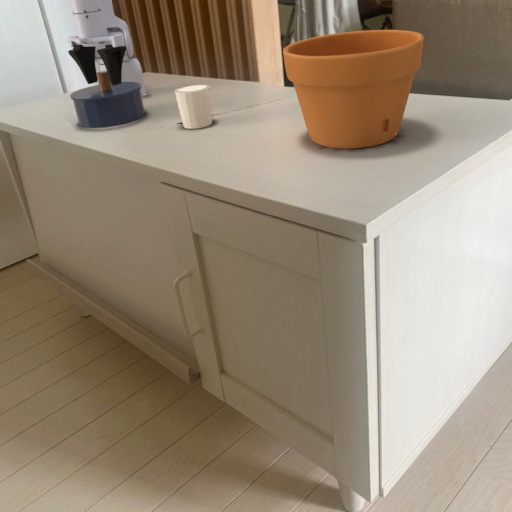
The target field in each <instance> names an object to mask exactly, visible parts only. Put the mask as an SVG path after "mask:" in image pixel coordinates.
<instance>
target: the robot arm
mask: <svg viewBox="0 0 512 512" xmlns="http://www.w3.org/2000/svg"><path fill="white" fill-rule="evenodd" d="M69 5H70V7H71V12H72V16H73V19H74V24H75V28H76V32H77V35H71V36H67V37H66V38H67V42H68V46H69V48H72V49H70V50H68V51H67V53H68V55H69V56H70V57H71V58H72V60H74V62H75V63H76V64H77V66H78V68H79V70H80V71H81V73H82V76H83V77H84V79H85V81H86V83H87V85H91V84H95V83H98V79H97V75H96V73H98V71H97V67H96V64H97V65H99V70H100V72H102V71H107V73H108V77H109V80H110V83H111V85H118V84H121V82H137V83H140V84H141V86H142V88H141V89H140V91H141V96H142V97H143V96H147V95H148V93H147V89H146V88H147V87H146V84H145V79H144V74H143V68H142V66H141V63H140V61H139V60H138V58H137V57H133V55H134V46H133V40H132V36H131V32H130V29H129V25H128V24H127V22H126V21H125V20H123V19H122V18H120V17H118V16H116V15H115V11H114V5H113V1H112V0H69Z"/></svg>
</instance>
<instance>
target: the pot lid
mask: <svg viewBox="0 0 512 512" xmlns="http://www.w3.org/2000/svg"><path fill="white" fill-rule="evenodd" d="M96 75H97V83H98V84H96V85H92V86H87V87H84V88H81V89H78V90H75V91H73V92H72V93H70V95H69V97H70V99H71V100H72V101H73V100H75V101H97V100H105V99H111V98H117V97H121V96H125V95H128V94H132V93H134V92H137V91H138V90H140V89H141V88H142V86H141V84H140V83H137V82H121V84H118V85H111V83H110V80H109V77H108V73H107V71H102V72H101V71H97V73H96Z"/></svg>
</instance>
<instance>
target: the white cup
mask: <svg viewBox="0 0 512 512" xmlns="http://www.w3.org/2000/svg"><path fill="white" fill-rule="evenodd" d="M174 95H175V99H176V102H177V106H178V110H179V115H180V118H181V123H182V125H183V128H185V129H188V130H189V129H190V130H195V129H196V130H197V129H201V128H206V127H209V126H211V125H213V112H212V89H211V85H209V84H190V85H185V86H181V87H178V88H175V90H174Z"/></svg>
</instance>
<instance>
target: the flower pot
mask: <svg viewBox="0 0 512 512" xmlns="http://www.w3.org/2000/svg"><path fill="white" fill-rule="evenodd" d="M424 42H425V38H424V35H423V34H422V33H420V32H418V31H411V30H405V29H367V30H366V29H365V30H356V31H355V30H353V31H344V32H336V33H332V34H331V33H330V34H324V35H318V36H314V37H310V38H304V39H302V40H301V39H300V40H298V41H295V42H292V43H290V44H287V45H286V46H285V47H284V48H283V50H282V55H283V63H284V67H285V68H284V69H285V73H286V77H287V79H288V80H289V81H290V82H291V83H292V84H293V87H294V90H295V94H296V97H297V100H298V103H299V107H300V110H301V113H302V116H303V120H304V124H305V127H306V130H307V132H308V135H309V138H310V139H311V141H312V142H313V143H315V144H317V145H318V146H321V147H326V148H331V149H341V150H351V149H353V150H354V149H363V148H364V149H365V148H370V147H375V146H379V145H382V144H385V143H387V142H389V141H392V140H393V139H395V138H396V137H397V136H398V134H399V132H400V130H401V125H402V122H403V117H404V115H405V111H406V107H407V103H408V100H409V97H410V96H409V95H410V92H411V90H412V89H411V88H412V86H413V81H414V79H415V74H416V72H418V70H419V69H420V68H421V67H422V58H423V51H424V50H423V49H424ZM395 133H396V134H395Z"/></svg>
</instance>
